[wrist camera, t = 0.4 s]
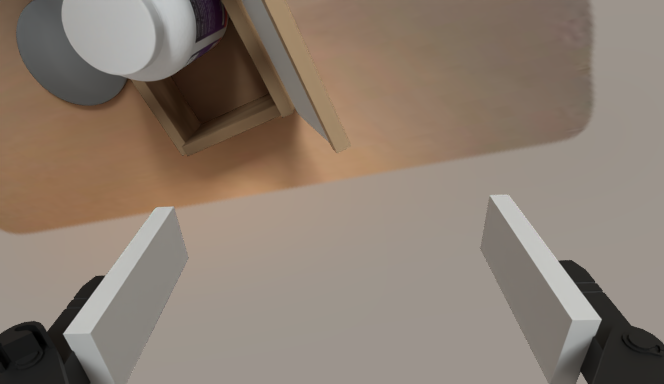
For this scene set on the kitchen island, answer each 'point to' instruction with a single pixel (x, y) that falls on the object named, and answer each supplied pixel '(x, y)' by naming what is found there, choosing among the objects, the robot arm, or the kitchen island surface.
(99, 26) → the pill bottle
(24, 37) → the grey oval disc
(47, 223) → the kitchen island surface
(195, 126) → the wooden box
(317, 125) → the lid
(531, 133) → the kitchen island surface
